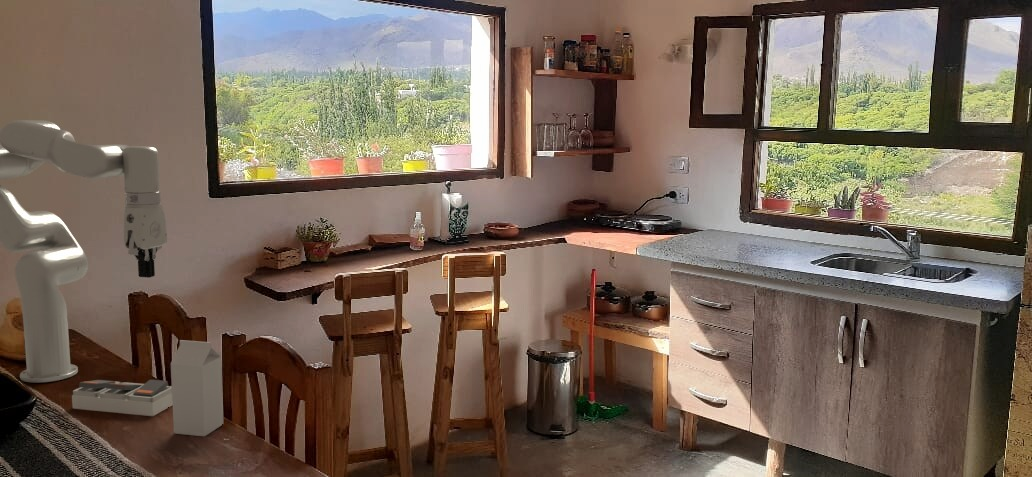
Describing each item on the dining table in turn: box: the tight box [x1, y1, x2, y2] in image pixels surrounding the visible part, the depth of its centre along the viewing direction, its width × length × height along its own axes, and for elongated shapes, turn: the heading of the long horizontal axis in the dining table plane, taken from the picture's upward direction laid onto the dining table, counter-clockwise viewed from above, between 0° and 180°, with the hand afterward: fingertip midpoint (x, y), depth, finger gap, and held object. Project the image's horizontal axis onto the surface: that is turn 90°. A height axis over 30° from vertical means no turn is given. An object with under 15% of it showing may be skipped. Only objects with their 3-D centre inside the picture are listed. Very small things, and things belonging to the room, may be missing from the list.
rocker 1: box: [78, 379, 116, 389], centre depth 186 cm, size 4×6×1 cm
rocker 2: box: [106, 382, 141, 390], centre depth 184 cm, size 4×6×1 cm
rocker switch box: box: [71, 380, 173, 417], centre depth 185 cm, size 20×8×4 cm, turn 79°
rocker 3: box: [133, 379, 169, 397], centre depth 183 cm, size 4×6×1 cm
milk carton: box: [170, 339, 224, 437], centre depth 170 cm, size 7×7×19 cm
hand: (146, 276), depth 194 cm, fingers closed
